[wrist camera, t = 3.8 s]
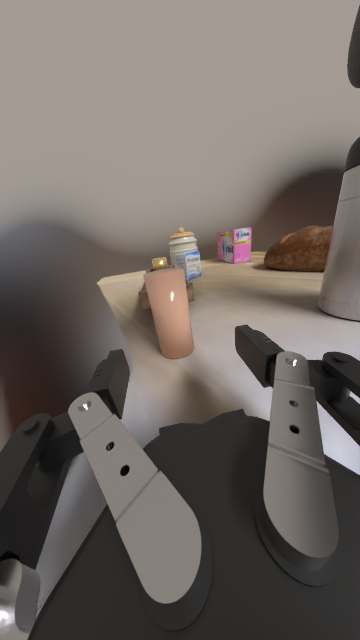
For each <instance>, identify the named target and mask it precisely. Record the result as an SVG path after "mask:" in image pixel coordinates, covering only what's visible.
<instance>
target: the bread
mask: <svg viewBox="0 0 360 640" xmlns="http://www.w3.org/2000/svg"><path fill="white" fill-rule="evenodd" d="M332 231H333V227H330V226H325V227H319V226H309V227H305V228H303V229H301V230H300V231H298V232H296V233H291V234H287V235H286V236H285V237H282V238H281V239H279V240H278V241H277V242H275V243H274V244H273V245H272V246H271V247H270V249H268V251H267V252H266V255H265V258H264V264H265V266H267V267H271V268H275V269H280V270H293V271H320V272H324V271H325V266H326V261H327V256H328V251H329V246H330V241H331V236H332Z"/></svg>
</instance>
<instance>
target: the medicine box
mask: <svg viewBox="0 0 360 640" xmlns="http://www.w3.org/2000/svg"><path fill="white" fill-rule="evenodd" d="M176 263H177V268H183V269H184V275H185V280H188V281H189V280H191V279H194V278H196V277H198V276H201V266H200V256H199V251H191V252H187V253H182V254H178V255H176Z"/></svg>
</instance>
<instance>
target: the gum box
mask: <svg viewBox="0 0 360 640" xmlns="http://www.w3.org/2000/svg"><path fill="white" fill-rule="evenodd" d="M217 235H218V259H219V260H223V261H226V262H229V263H233V264H236V263H242V262H248V261H250V259H251V227H248V228H242V229H236V230H230V231H224V232H218V234H217Z"/></svg>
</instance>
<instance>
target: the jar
mask: <svg viewBox="0 0 360 640" xmlns="http://www.w3.org/2000/svg"><path fill="white" fill-rule="evenodd" d="M178 232H179V233H178V234H173V235H172V236H171V237H170V238H169V239H171V241H170V243H169V244H168V245H169V246H170V255H171V262H172V265H175V268H177V263H176V255H178V254H182V253H187V252H191V251H198V250H197V249H198V248H197V246H196V241H197V240H196V239H195V238H194V236H193V235H194V234H193V233H191V232H185V233H184V229H183V228H182V227H181V228H179V229H178Z"/></svg>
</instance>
